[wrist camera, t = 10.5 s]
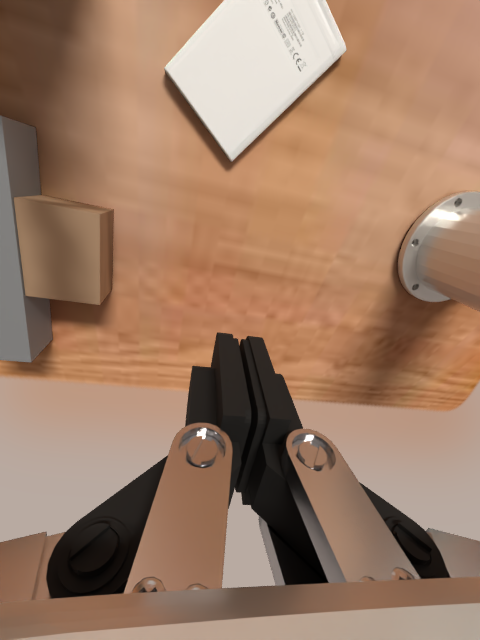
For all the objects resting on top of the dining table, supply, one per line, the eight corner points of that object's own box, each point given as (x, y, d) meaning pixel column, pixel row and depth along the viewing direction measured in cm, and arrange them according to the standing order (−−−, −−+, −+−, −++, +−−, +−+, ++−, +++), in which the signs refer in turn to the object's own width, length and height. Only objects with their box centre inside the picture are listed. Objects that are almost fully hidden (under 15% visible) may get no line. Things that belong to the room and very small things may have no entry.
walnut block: (114, 209, 26) (99, 214, 22) (112, 288, 29) (99, 305, 25) (42, 194, 25) (13, 197, 21) (49, 279, 28) (25, 295, 24)
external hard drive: (165, 73, 22) (285, -61, 20) (230, 163, 26) (339, 57, 24) (163, 66, 21) (292, -80, 19) (232, 161, 25) (348, 49, 22)
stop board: (35, 127, 22) (1, 115, 18) (52, 338, 30) (31, 362, 27) (-23, 112, 21) (-72, 97, 17) (11, 334, 30) (-18, 358, 26)
